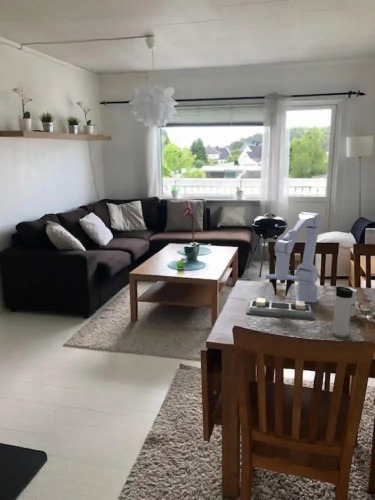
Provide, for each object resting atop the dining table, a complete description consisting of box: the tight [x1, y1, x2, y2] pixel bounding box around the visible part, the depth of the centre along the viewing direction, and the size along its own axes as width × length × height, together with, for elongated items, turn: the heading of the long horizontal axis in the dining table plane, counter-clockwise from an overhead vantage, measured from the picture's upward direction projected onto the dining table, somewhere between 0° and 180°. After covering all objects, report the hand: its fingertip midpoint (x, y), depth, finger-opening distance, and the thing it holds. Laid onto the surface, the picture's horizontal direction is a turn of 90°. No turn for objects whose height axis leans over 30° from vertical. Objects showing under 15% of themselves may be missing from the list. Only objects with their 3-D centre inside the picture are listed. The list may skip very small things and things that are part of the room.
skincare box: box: [348, 287, 358, 317], centre depth 187 cm, size 6×4×12 cm
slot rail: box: [245, 297, 316, 321], centre depth 191 cm, size 30×13×5 cm, turn 77°
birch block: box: [275, 285, 286, 301], centre depth 190 cm, size 4×6×5 cm, turn 167°
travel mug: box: [331, 286, 353, 339], centre depth 165 cm, size 6×7×20 cm
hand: (280, 295), depth 190 cm, fingers closed on birch block, 4 cm apart
